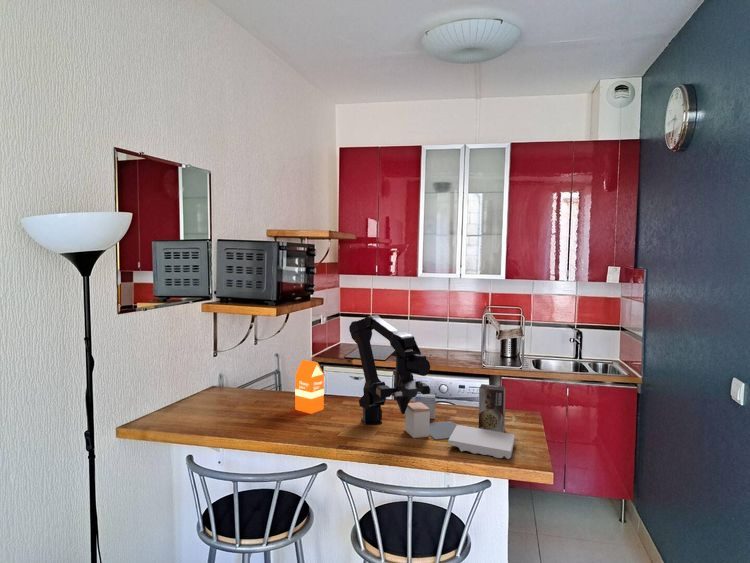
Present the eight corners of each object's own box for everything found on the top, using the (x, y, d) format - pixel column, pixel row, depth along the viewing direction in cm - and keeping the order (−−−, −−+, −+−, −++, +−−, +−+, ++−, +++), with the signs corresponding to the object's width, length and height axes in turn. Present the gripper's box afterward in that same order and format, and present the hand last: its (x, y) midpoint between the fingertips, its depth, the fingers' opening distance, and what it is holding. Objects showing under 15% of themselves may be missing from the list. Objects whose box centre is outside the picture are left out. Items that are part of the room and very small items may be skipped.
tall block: (413, 438, 179) (414, 409, 179) (405, 430, 187) (405, 403, 186) (429, 436, 181) (429, 408, 180) (420, 428, 189) (420, 402, 188)
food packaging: (514, 444, 176) (456, 433, 182) (514, 434, 175) (457, 424, 182) (510, 461, 161) (447, 449, 168) (510, 451, 161) (448, 440, 168)
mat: (435, 440, 177) (435, 439, 177) (417, 424, 193) (417, 424, 193) (471, 436, 182) (471, 435, 182) (450, 421, 197) (450, 421, 197)
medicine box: (434, 415, 204) (435, 394, 203) (434, 419, 200) (435, 397, 199) (414, 414, 205) (415, 393, 204) (414, 418, 200) (415, 396, 200)
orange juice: (308, 405, 215) (308, 358, 214) (323, 409, 210) (324, 361, 208) (294, 409, 208) (295, 361, 207) (310, 413, 203) (311, 364, 202)
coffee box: (504, 428, 190) (506, 385, 189) (503, 434, 184) (504, 390, 183) (479, 425, 193) (481, 383, 192) (477, 431, 187) (479, 387, 186)
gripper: (386, 377, 170) (385, 423, 171) (437, 374, 176) (436, 418, 177) (375, 369, 181) (375, 413, 182) (424, 367, 187) (423, 409, 187)
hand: (402, 413), depth 182 cm, fingers closed
